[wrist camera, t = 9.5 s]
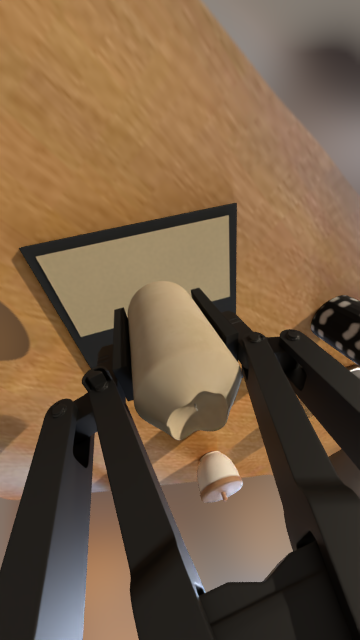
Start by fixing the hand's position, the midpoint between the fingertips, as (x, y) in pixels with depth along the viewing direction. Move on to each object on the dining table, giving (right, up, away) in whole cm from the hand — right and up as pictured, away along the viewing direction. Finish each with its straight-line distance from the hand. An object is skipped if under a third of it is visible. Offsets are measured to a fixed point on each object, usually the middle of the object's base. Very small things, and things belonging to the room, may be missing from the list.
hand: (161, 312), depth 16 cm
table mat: (-1, -1, +10) cm, 10 cm away
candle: (0, 0, 0) cm, 1 cm away
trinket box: (+10, -38, +37) cm, 54 cm away
